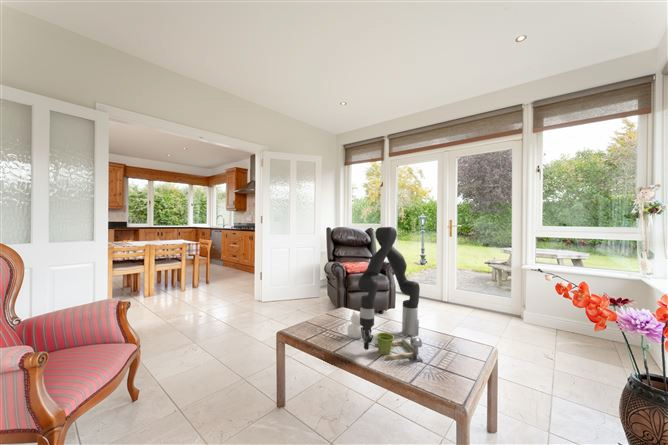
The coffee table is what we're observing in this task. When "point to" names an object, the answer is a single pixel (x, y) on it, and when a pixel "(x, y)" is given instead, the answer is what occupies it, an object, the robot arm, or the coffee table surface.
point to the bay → (399, 356)
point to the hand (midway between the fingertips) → (366, 349)
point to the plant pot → (384, 343)
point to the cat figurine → (355, 326)
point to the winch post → (415, 348)
